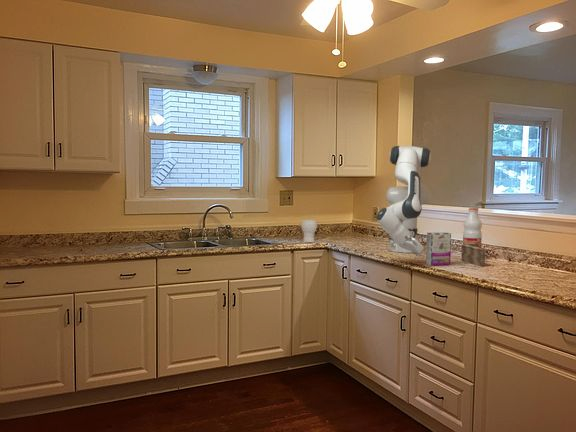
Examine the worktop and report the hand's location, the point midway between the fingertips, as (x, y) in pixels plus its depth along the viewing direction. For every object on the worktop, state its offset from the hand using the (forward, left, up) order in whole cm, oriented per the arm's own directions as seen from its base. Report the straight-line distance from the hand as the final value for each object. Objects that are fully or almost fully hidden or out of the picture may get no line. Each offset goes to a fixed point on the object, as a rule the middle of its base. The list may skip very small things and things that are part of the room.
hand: (419, 254), depth 242 cm
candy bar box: (0, +11, -5) cm, 12 cm away
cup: (-98, -30, -5) cm, 103 cm away
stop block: (-1, +31, -5) cm, 31 cm away
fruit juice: (-14, +39, -5) cm, 41 cm away
